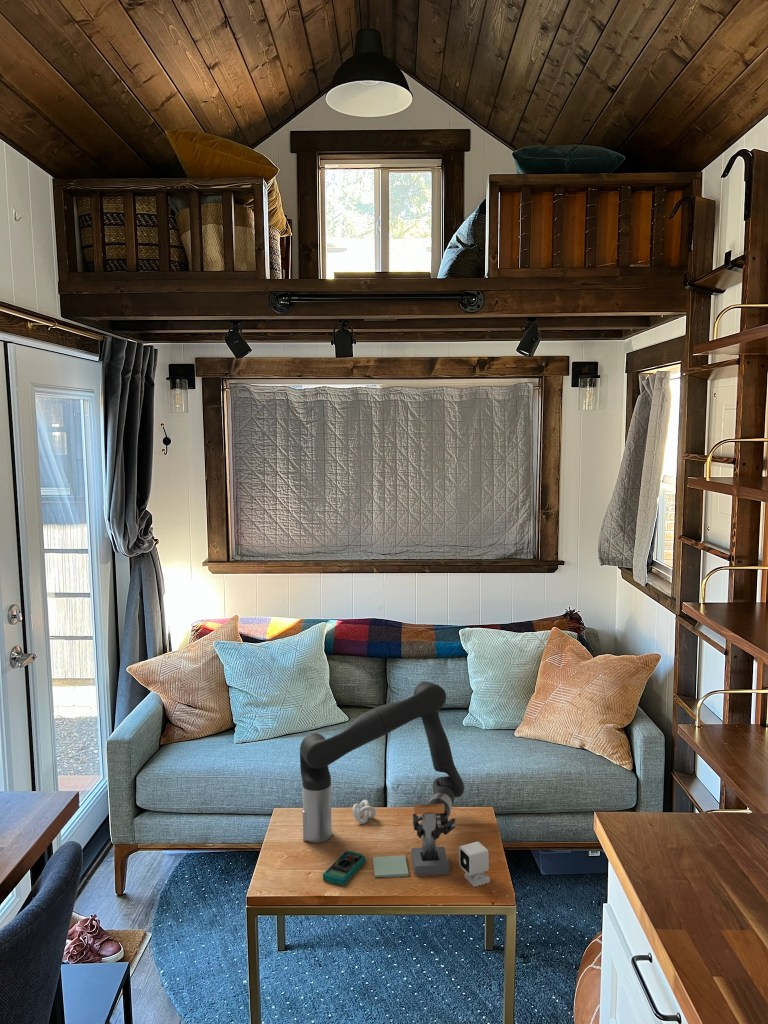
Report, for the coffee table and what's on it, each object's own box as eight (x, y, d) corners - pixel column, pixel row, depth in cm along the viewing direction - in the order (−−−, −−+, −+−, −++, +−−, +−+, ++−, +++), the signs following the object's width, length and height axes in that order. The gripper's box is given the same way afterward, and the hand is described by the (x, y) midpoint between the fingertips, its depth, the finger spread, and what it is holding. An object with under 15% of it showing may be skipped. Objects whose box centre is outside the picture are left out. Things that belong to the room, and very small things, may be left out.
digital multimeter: (366, 862, 229) (366, 853, 229) (344, 888, 216) (343, 878, 215) (345, 857, 232) (345, 848, 232) (321, 882, 219) (321, 872, 218)
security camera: (459, 878, 219) (459, 845, 219) (479, 872, 222) (479, 839, 222) (470, 889, 214) (470, 855, 213) (491, 883, 217) (491, 849, 216)
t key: (415, 864, 224) (415, 809, 222) (413, 857, 228) (413, 803, 226) (444, 863, 224) (445, 808, 223) (442, 855, 228) (443, 802, 227)
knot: (363, 828, 249) (363, 811, 249) (346, 821, 254) (345, 804, 254) (378, 820, 255) (378, 803, 254) (360, 812, 260) (360, 796, 259)
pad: (374, 877, 220) (374, 875, 220) (372, 859, 230) (372, 857, 230) (408, 876, 221) (408, 873, 220) (405, 857, 230) (405, 855, 230)
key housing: (415, 876, 221) (415, 866, 220) (411, 857, 231) (411, 848, 230) (449, 874, 221) (449, 864, 221) (443, 855, 231) (443, 846, 231)
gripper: (416, 795, 240) (403, 820, 224) (460, 800, 237) (450, 827, 220) (416, 817, 241) (403, 844, 225) (460, 823, 237) (450, 851, 221)
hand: (427, 835), depth 222 cm, fingers closed on t key, 4 cm apart
